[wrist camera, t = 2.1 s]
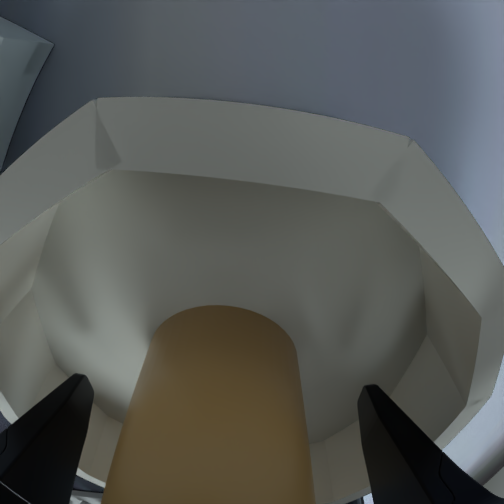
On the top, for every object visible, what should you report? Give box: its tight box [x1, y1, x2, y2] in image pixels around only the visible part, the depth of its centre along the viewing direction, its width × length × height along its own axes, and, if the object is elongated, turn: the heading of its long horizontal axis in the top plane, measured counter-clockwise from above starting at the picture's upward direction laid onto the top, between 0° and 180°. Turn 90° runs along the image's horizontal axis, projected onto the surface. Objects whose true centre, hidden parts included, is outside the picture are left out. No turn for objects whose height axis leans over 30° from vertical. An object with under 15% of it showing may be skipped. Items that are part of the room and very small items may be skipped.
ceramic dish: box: [0, 97, 504, 504], centre depth 9 cm, size 16×16×4 cm
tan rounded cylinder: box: [101, 305, 316, 504], centre depth 7 cm, size 5×5×7 cm
